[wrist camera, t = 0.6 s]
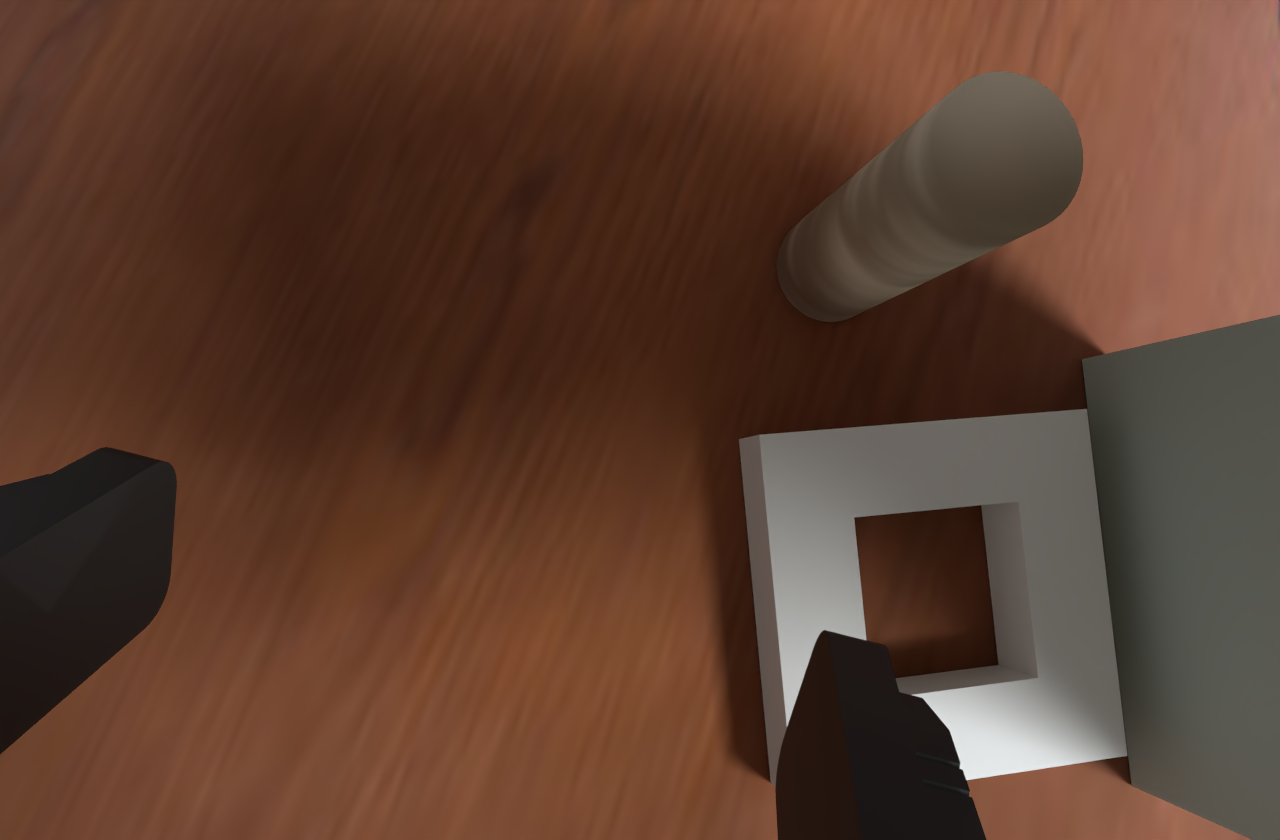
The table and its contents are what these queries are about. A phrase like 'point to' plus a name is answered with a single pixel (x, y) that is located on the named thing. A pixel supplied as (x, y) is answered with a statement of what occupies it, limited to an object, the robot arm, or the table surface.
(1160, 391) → the c-shaped stand frame
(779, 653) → the socket plate
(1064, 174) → the birch peg
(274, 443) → the table surface
